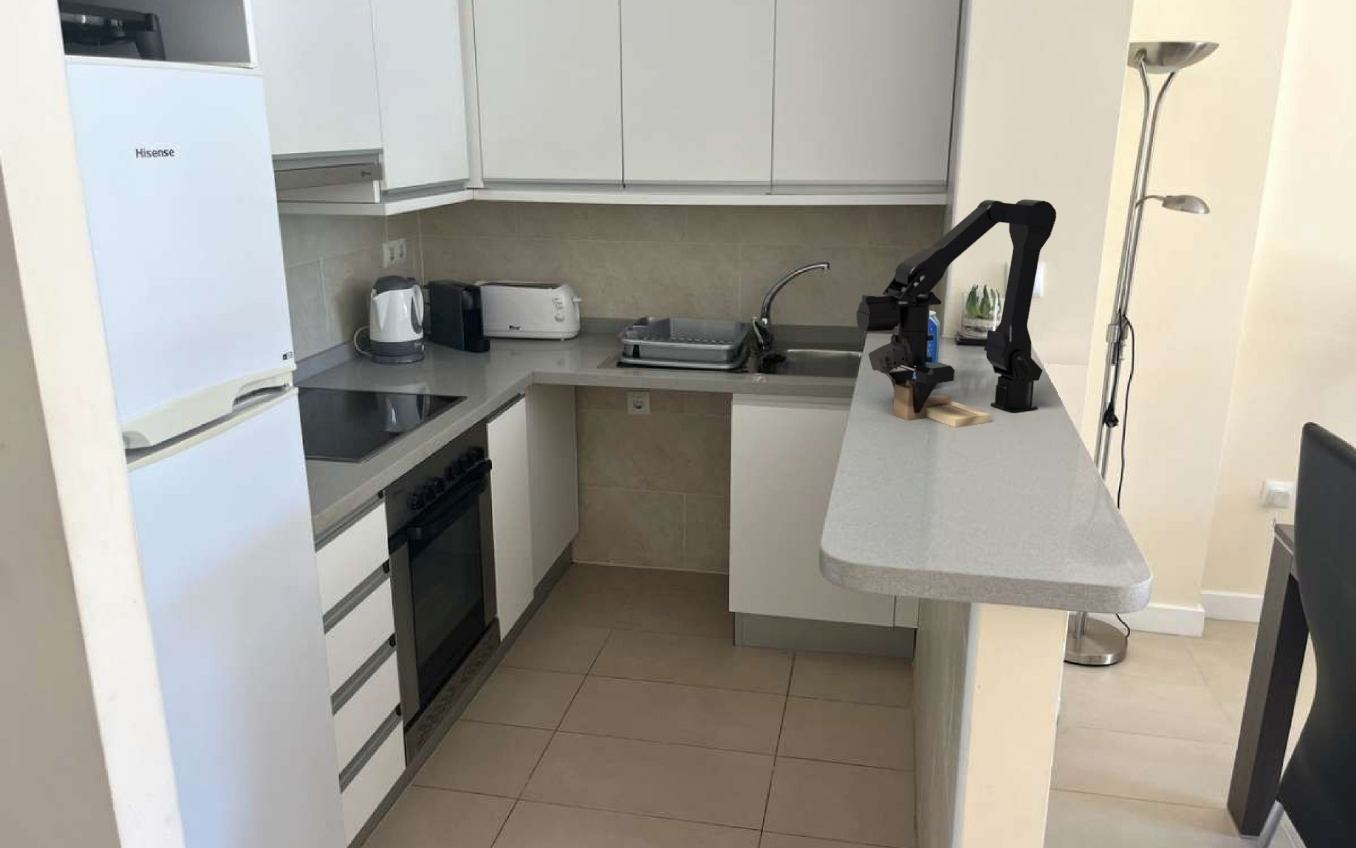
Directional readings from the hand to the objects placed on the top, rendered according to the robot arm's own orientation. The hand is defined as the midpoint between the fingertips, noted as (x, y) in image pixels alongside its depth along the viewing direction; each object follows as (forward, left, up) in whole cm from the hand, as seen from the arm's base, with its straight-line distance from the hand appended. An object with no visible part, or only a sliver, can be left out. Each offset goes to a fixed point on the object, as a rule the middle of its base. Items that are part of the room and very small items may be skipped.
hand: (909, 410), depth 190 cm
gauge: (-4, 0, -1) cm, 4 cm away
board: (-7, +2, -1) cm, 7 cm away
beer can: (-16, -19, -2) cm, 25 cm away
